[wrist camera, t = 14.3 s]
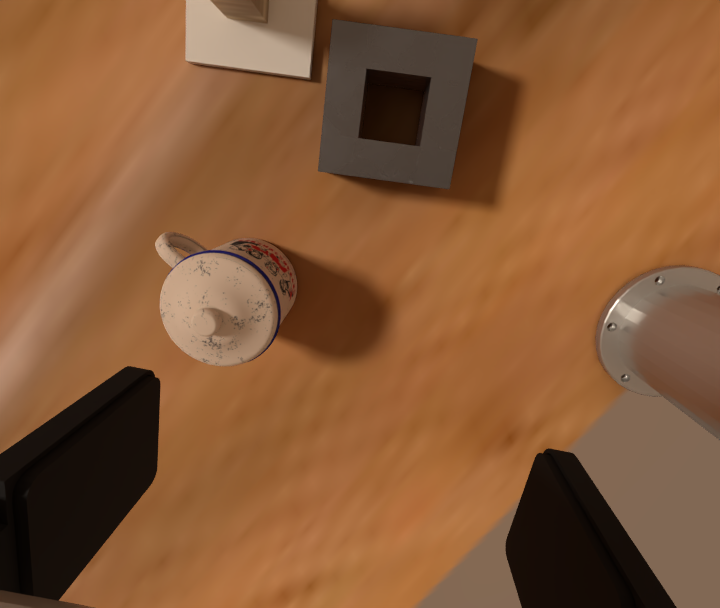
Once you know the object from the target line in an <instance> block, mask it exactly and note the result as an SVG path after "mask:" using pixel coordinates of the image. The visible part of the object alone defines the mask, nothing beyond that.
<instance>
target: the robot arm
mask: <svg viewBox="0 0 720 608" xmlns="http://www.w3.org/2000/svg"><path fill="white" fill-rule="evenodd" d="M608 324H609V325H608ZM596 350H597V354H598V358H599V361H600V362H601V364H602V366H603V368H604V370H605V371H606V372H607V373H608V374H609V375H610V376H611V378H613V379H614V380H615V381H616V382H617V383H618V384H620V385H621V386H623V387H625V388H626V389H628V390H630V391H632V392H635V393H638V394H641V395H647V396H663V397H664V398H666V399H667V400H668V401H669V402H671V403H672V404H673V405H675V406H676V407H677V408H678V409H680V410H681V411H682V412H684V413H685V414H686V415H688V416H689V417H690V418H692V419H693V420H694V421H695V422H697V423H698V424H699V425H701V426H702V427H703V428H705V429H706V430H707V431H708V432H710V433H711V434H712V435H714V436H715V437H716V438H718V439H719V440H720V276H719V275H717V274H715V273H713V272H711V271H708V270H705V269H701V268H698V267H692V266H685V265H679V266H667V267H662V268H658V269H654V270H652V271H649V272H647V273H644V274H642V275H640V276H638V277H637V278H635V279H633V280H632V281H630V282H629V283H627V284H626V285H625V286H624V287H623V288H621V289H620V290H619V291H618V292H617V293H616V294H615V296H614V297H613V298H612V299H611V300H610V301H609V303H608V304H607V306H606V308H605V309H604V311H603V313H602V315H601V318H600V320H599V323H598V326H597V332H596ZM159 406H160V380H159V379H158V378H156V377H155V375H154V372H153V371H151V370H146V369H141V368H136V367H131V366H127V367H125V368H124V369H122V370H121V371H119V372H118V373H116V374H115V375H113V376H112V377H111V378H109V379H108V380H106V381H105V382H103V383H102V384H101V385H99V386H98V387H96V388H95V389H93V390H92V391H90V392H89V393H88V394H86V395H85V396H83V397H82V398H80V399H79V400H78V401H76V402H75V403H73V404H72V405H70V406H69V407H67V408H66V409H65V410H63V411H62V412H60V413H59V414H57V415H56V416H55V417H53V418H52V419H50V420H49V421H47V422H46V423H44V424H43V425H42V426H40V427H39V428H37V429H36V430H34V431H33V432H32V433H30V434H29V435H27V436H26V437H24V438H23V439H21V440H20V441H19V442H17V443H16V444H14V445H13V446H11V447H10V448H9V449H7V450H6V451H4V452H3V453H1V454H0V608H94V607H89V606H84V605H79V604H74V603H68V602H63V601H58V600H59V599H60V598H61V597H62V595H63V594H64V593H65V592H66V590H67V589H68V588H69V587H70V585H71V584H72V583H73V582H74V580H75V579H76V578H77V577H78V575H79V574H80V573H81V572H82V570H83V569H84V568H85V567H86V565H87V564H88V563H89V562H90V560H91V559H92V558H93V557H94V555H95V554H96V553H97V552H98V550H99V549H100V548H101V547H102V545H103V544H104V543H105V541H106V540H107V539H108V538H109V536H110V535H111V534H112V533H113V531H114V530H115V529H116V528H117V526H118V525H119V524H120V523H121V521H122V520H123V519H124V518H125V516H126V515H127V514H128V513H129V511H130V510H131V509H132V508H133V506H134V505H135V504H136V503H137V501H138V500H139V499H140V498H141V496H142V495H143V494H144V493H145V491H146V490H147V489H148V488H149V486H150V485H151V484H152V482H153V480H154V478H155V475H156V472H157V460H158V433H159ZM506 556H507V560H508V563H509V566H510V569H511V573H512V576H513V580H514V583H515V586H516V589H517V593H518V596H519V599H520V603H521V606H522V608H676V606H675V605H674V603H673V601H672V600H671V598H670V597H669V595H668V594H667V593H666V591H665V589H664V588H663V586H662V585H661V583H660V582H659V580H658V579H657V577H656V576H655V574H654V573H653V571H652V570H651V568H650V567H649V565H648V564H647V562H646V561H645V559H644V558H643V556H642V555H641V553H640V552H639V550H638V549H637V547H636V546H635V544H634V543H633V541H632V540H631V538H630V537H629V536H628V534H627V532H626V531H625V529H624V528H623V526H622V525H621V523H620V522H619V520H618V519H617V517H616V516H615V514H614V513H613V511H612V510H611V508H610V507H609V505H608V504H607V502H606V501H605V499H604V498H603V496H602V495H601V493H600V492H599V490H598V489H597V487H596V486H595V484H594V483H593V481H592V480H591V478H590V477H589V475H588V474H587V472H586V471H585V469H584V468H583V466H582V465H581V463H580V462H579V460H578V459H577V457H576V456H575V455H574V454H573V453H570V452H564V451H559V450H554V449H546V450H545V451H544V453H538V454H537V455H536V457H535V460H534V463H533V465H532V468H531V471H530V474H529V477H528V480H527V482H526V485H525V488H524V491H523V494H522V497H521V499H520V502H519V505H518V508H517V511H516V514H515V516H514V519H513V522H512V525H511V528H510V531H509V534H508V536H507V540H506Z"/></svg>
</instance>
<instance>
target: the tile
mask: <svg viewBox="0 0 720 608" xmlns="http://www.w3.org/2000/svg"><path fill="white" fill-rule="evenodd" d="M317 2H318V0H269V10H268V24H267V23H260V22H252V21H245V20H238V19H231V18H227V17H226V16H225V15H224V14H223V13H222V12H221V11H220V10H219V9H218V8H217V7H216V6H215V5H214V4H213V3H212V2H211V1H210V0H186V61H187V62H188V63H191V64H198V65H205V66H213V67H220V68H227V69H235V70H242V71H249V72H256V73H264V74H271V75H278V76H286V77H293V78H300V79H308V80H311V72H312V60H313V49H314V37H315V25H316V14H317Z"/></svg>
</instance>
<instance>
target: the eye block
mask: <svg viewBox="0 0 720 608" xmlns="http://www.w3.org/2000/svg"><path fill="white" fill-rule="evenodd" d="M476 45H477V39H475V38H467V37H460V36H453V35H445V34H438V33H431V32H423V31H416V30H409V29H401V28H394V27H387V26H379V25H372V24H365V23H357V22H350V21H342V20H335V19H333V21H332V31H331V42H330V52H329V62H328V73H327V83H326V94H325V104H324V114H323V125H322V135H321V145H320V156H319V166H318V171H320V172H327V173H334V174H341V175H349V176H356V177H363V178H371V179H378V180H385V181H393V182H400V183H407V184H415V185H422V186H429V187H436V188H444V189H450V184H451V178H452V173H453V168H454V162H455V157H456V152H457V146H458V141H459V136H460V130H461V125H462V120H463V114H464V109H465V104H466V98H467V93H468V88H469V82H470V77H471V72H472V66H473V61H474V55H475V50H476ZM368 84H375V85H382V86H389V87H396V88H404V89H411V90H418V91H424V94H423V100H422V106H421V113H420V119H419V125H418V132H417V138H416V144H415V146H413V145H405V144H398V143H391V142H383V141H376V140H369V139H361V138H362V129H363V121H364V113H365V105H366V97H367V89H368Z"/></svg>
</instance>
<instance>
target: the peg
mask: <svg viewBox="0 0 720 608" xmlns="http://www.w3.org/2000/svg"><path fill="white" fill-rule="evenodd" d="M210 1H211V2H212V3H213V4H214V5H215V6H216V7H217V8H218V9H219V10H220V11H221V12H222V13H223V14H224V15H225V16H226V17H227V18H231V19H238V20H245V21H252V22H260V23H267V24H268V10H269V0H210Z"/></svg>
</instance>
